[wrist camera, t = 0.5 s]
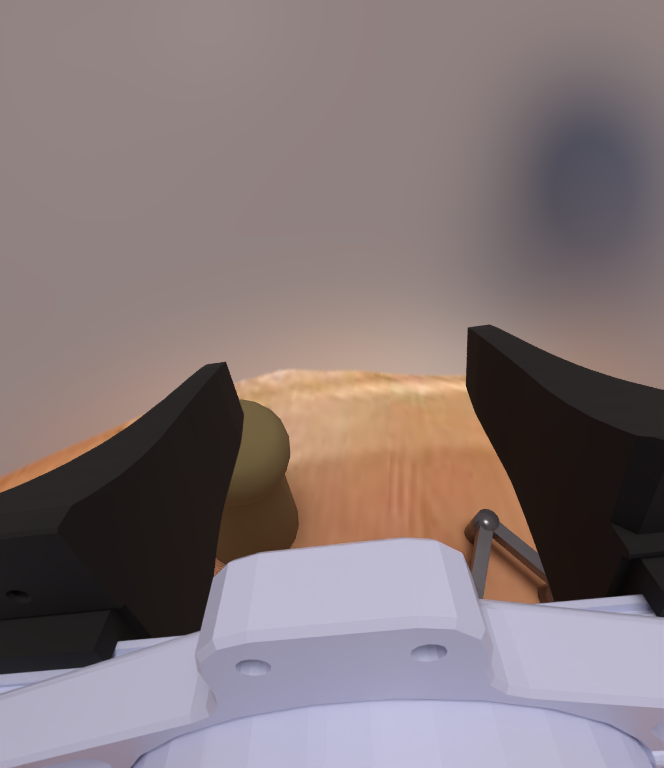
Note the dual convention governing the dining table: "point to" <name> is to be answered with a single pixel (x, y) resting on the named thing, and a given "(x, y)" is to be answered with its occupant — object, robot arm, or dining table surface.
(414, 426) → the dining table surface
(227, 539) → the olive green pawn
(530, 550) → the grey v-shaped linkage
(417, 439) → the dining table surface
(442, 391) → the dining table surface
